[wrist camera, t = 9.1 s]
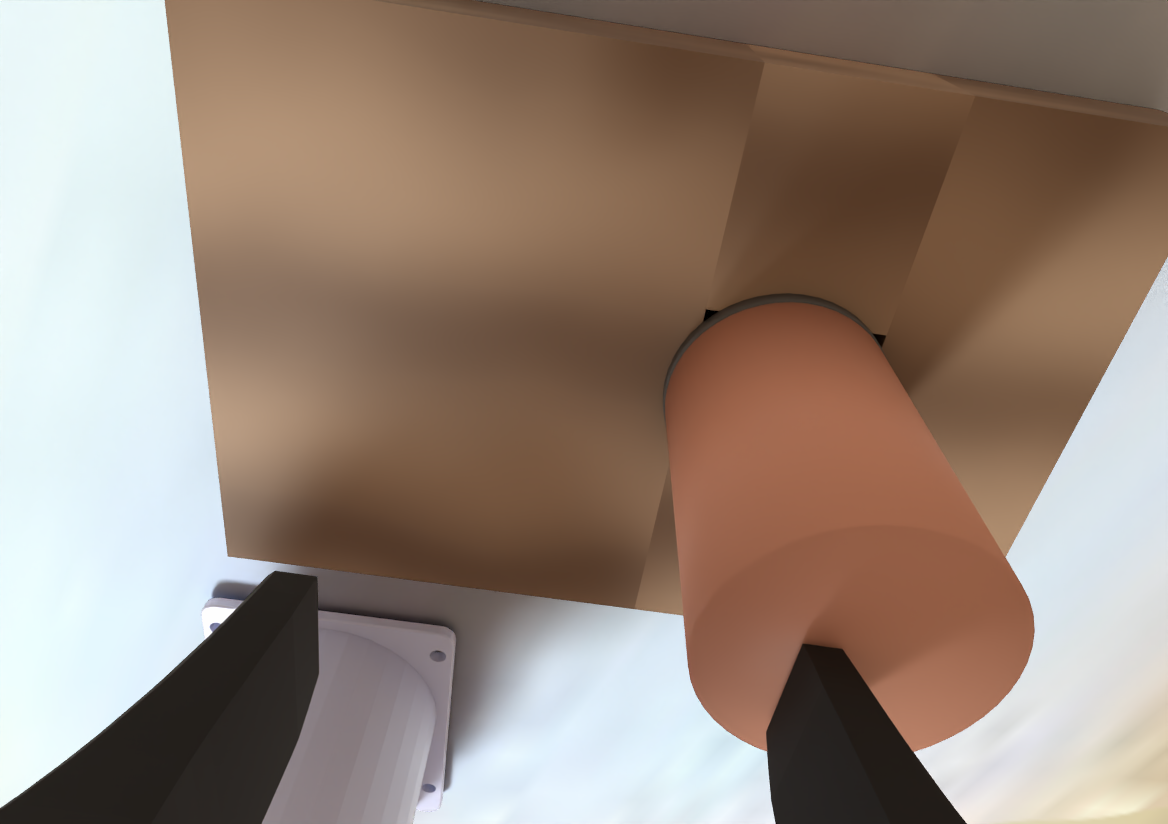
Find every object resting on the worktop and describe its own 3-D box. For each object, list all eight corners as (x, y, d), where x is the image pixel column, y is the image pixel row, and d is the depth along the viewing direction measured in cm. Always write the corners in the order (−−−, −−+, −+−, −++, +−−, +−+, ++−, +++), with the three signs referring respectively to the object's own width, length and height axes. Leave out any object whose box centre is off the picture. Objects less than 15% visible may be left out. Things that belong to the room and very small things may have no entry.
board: (926, 587, 25) (954, 650, 23) (262, 499, 24) (227, 556, 22) (1157, 109, 18) (1231, 137, 16) (219, -41, 17) (161, -34, 15)
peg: (827, 446, 22) (958, 780, 14) (642, 420, 22) (658, 743, 13) (889, 271, 20) (1100, 549, 11) (680, 240, 19) (728, 499, 11)
